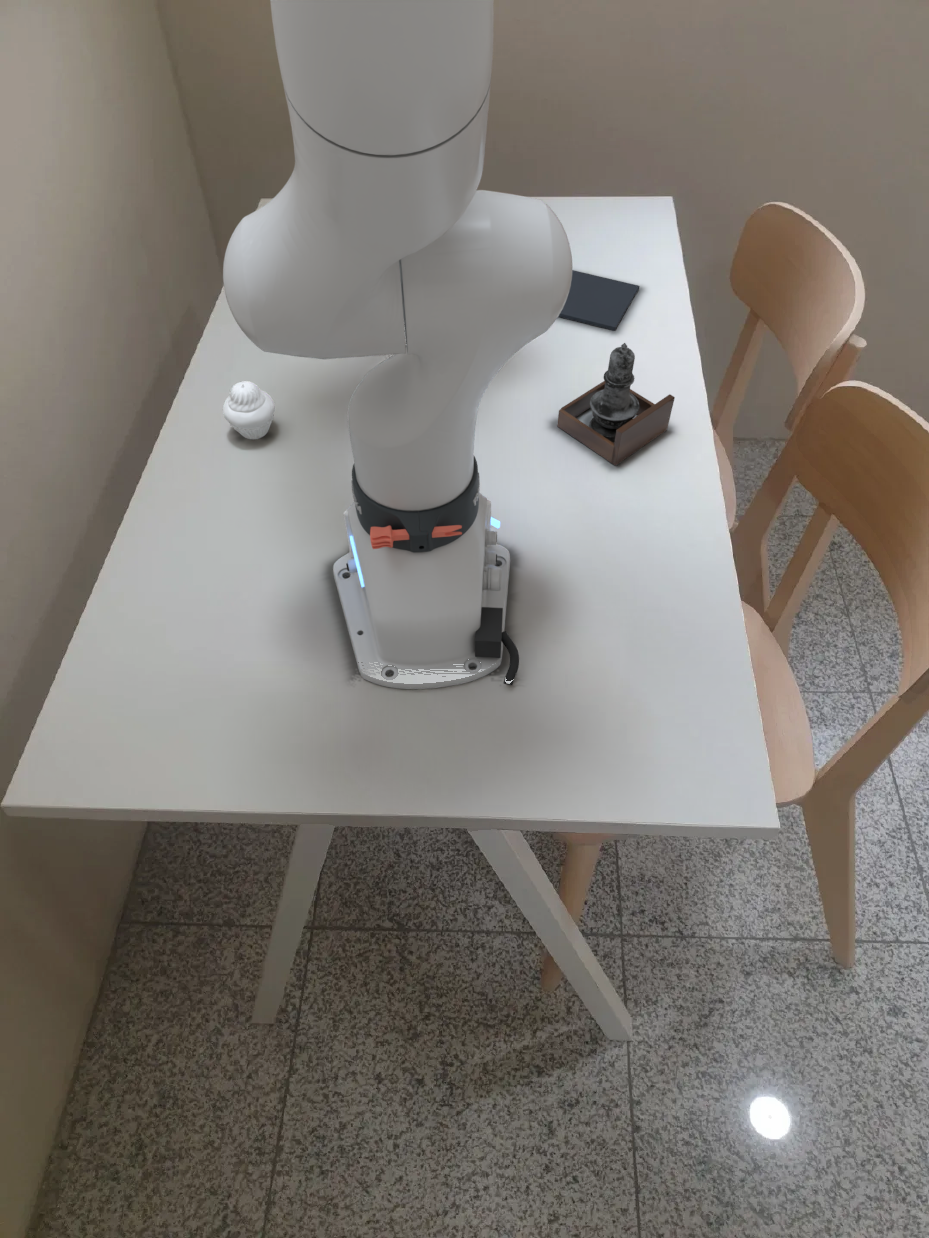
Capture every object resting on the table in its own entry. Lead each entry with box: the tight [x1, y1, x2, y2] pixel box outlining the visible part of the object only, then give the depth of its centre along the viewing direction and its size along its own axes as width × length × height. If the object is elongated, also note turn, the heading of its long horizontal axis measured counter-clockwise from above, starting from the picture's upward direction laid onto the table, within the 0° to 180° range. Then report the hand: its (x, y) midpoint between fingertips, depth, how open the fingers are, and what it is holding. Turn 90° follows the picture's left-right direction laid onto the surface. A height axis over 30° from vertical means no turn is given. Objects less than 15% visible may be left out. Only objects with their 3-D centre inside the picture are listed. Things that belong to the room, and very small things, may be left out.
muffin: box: [222, 380, 276, 441], centre depth 100 cm, size 6×6×7 cm
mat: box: [558, 269, 640, 331], centre depth 119 cm, size 11×11×1 cm
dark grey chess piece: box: [588, 342, 639, 443], centre depth 98 cm, size 6×6×12 cm
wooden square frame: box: [556, 380, 676, 467], centre depth 101 cm, size 10×9×5 cm
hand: (432, 21), depth 78 cm, fingers open, 8 cm apart
